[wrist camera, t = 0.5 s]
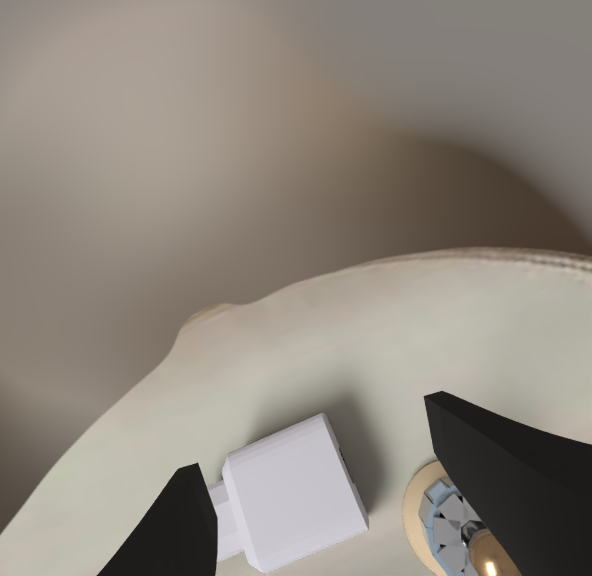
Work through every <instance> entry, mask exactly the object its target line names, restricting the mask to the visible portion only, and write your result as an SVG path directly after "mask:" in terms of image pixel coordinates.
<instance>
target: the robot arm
mask: <svg viewBox="0 0 592 576" xmlns="http://www.w3.org/2000/svg"><path fill="white" fill-rule="evenodd" d="M424 400H425V406H426V411H427V417H428V422H429V427H430V433H431V438H432V443H433V449H434V453H435V454H436V456H437V458H438V459H439V461H440V463H441V465H442V466H443V468H444V470H445V471H446V473H447V475H448V476H449V478H450V479H451V481H452V482H453V484H454V485H455V486H456V488H457V489H458V490H459V492H460V493H461V494H462V496H463V497H464V498H465V499H466V501H467V502H468V503H469V505H470V506H471V507H472V509H473V510H474V511H475V512H476V514H477V515H478V516H479V518H480V519H481V520H482V521H483V523H484V524H485V525H486V527H487V528H488V529H489V530H490V532H491V533H492V534H493V536H494V537H495V538H496V540H497V541H498V542H499V543H500V545H501V546H502V547H503V549H504V550H505V551H506V553H507V554H508V556H509V557H510V558H511V560H512V561H513V563H514V564H515V565H516V567H517V568H518V570H519V572H520V573H521V575H522V576H592V445H591V444H587V443H583V442H579V441H575V440H572V439H568V438H565V437H561V436H558V435H554V434H551V433H548V432H544V431H541V430H538V429H535V428H533V427H530V426H527V425H524V424H521V423H519V422H516V421H513V420H511V419H508V418H506V417H503V416H501V415H498V414H496V413H493V412H491V411H488V410H486V409H484V408H481V407H479V406H477V405H474V404H472V403H470V402H468V401H465V400H463V399H461V398H458V397H456V396H454V395H452V394H449V393H447V392H444V391H440V392H436V393H433V394H430V395H426V396H424ZM217 555H218V517H217V514H216V512H215V509H214V506H213V503H212V500H211V498H210V495H209V492H208V489H207V487H206V484H205V481H204V478H203V475H202V473H201V470H200V467H199V464H198V463H196V464H192V465H189V466H185V467H182V468H179V469H178V470H177V471H176V472H175V473H174V475H173V476H172V478H171V479H170V480H169V482H168V483H167V485H166V486H165V487H164V489H163V490H162V492H161V493H160V495H159V496H158V498H157V499H156V500H155V502H154V503H153V505H152V506H151V507H150V509H149V510H148V511H147V513H146V514H145V516H144V517H143V518H142V520H141V521H140V523H139V524H138V525H137V527H136V528H135V529H134V530H133V532H132V533H131V534H130V536H129V537H128V538H127V539H126V541H125V542H124V543H123V544H122V546H121V547H120V548H119V550H118V551H117V552H116V553H115V555H114V556H113V557H112V558H111V560H110V561H109V562H108V563H107V564H106V566H105V567H104V568H103V569H102V570H101V571H100V573H99V574H98V575H97V576H215V573H216V564H217Z"/></svg>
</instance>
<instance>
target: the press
mask: <svg viewBox="0 0 592 576" xmlns="http://www.w3.org/2000/svg"><path fill="white" fill-rule="evenodd" d="M461 498H462V502H461V501H460V500H459V499H461ZM442 514H443V515H444V517H445V518H443V517H441V516H442ZM469 520H475V521H481V522H483V521H482V520H481V519H480V518H479V516H478V515H477V514H476V512H475V511H474V510H473V509H472V507H471V506H470V505H469V503H468V502H467V501H466V499H465V498H464V497H463V496H462V494H461V493H460V492H459V490H458V489H457V488H456V486H455V485H454V484H453V482H452V481H451V479H450V478H449V476H448V475H447V473H446V471H445V470H444V468H443V466H442V465H441V463H440V461H439V460H438V461H435V462H432V463H430V464H428V465H426V466H424V467H423V468H422V469H421V470H419V471H418V472H417V473H416V474H415V476H414V477H413V478H412V480H411V481H410V483H409V485H408V487H407V489H406V492H405V496H404V500H403V521H404V526H405V530H406V534H407V536H408V539H409V541H410V544H411V545H412V547H413V549H414V551H415V552H416V554H417V555H418V557H419V558H420V559H421V560H422V562H423V563H424V564H425V565H426V566H427V567H428V568H429V569H430V570H431V571H433V572H434V573H436V574H437V575H438V576H479V575H478V574H477V572H476V571H475V569H474V568H473V566H472V564H471V562H470V559H469V555H468V549H467V548H466V547H465V545H464V544H463V543H462V542H461V527H462V526H463V525H464V524H465V523H466V522H468V521H469ZM483 524H484V523H483ZM484 525H485V524H484ZM485 526H486V525H485Z"/></svg>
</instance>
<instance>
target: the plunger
mask: <svg viewBox="0 0 592 576" xmlns="http://www.w3.org/2000/svg"><path fill="white" fill-rule="evenodd" d="M459 500H460V501H461V502H462V498H461V499H459ZM441 517H443V518H445V517H444V515H443V514H442V516H441ZM461 542H462V543H463V544H464V545H465V547H466V548H467V549H468V555H469V559H470V562H471V564H472V566H473V568H474V569H475V571H476V572H477V574H478V575H479V576H522V575H521V573H520V572H519V570H518V568H517V567H516V565H515V564H514V563H513V561H512V560H511V558H510V557H509V556H508V554H507V553H506V551H505V550H504V549H503V547H502V546H501V545H500V543H499V542H498V541H497V540H496V538H495V537H494V536H493V534H492V533H491V532H490V530H489V529H488V528H487V527H486V526H485V525H484V524H483V522H481V521H475V520H469V521H468V522H466V523H465V524H464V525H463V526H462V527H461Z"/></svg>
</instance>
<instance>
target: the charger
mask: <svg viewBox="0 0 592 576" xmlns="http://www.w3.org/2000/svg"><path fill="white" fill-rule="evenodd" d="M338 448H340V447H339V444H338V442H337V439H336V437H335V434H334V432H333V430H332V427H331V425H330V422H329V420H328V418H327V416H326V414H325V413H320V414H317V415H315V416H313V417H310V418H308V419H306V420H304V421H301V422H299V423H297V424H294V425H292V426H290V427H288V428H285V429H283V430H281V431H278V432H276V433H274V434H272V435H269V436H267V437H265V438H262V439H260V440H258V441H256V442H253V443H251V444H249V445H246V446H244V447H242V448H240V449H237V450H235V451H233V452H230V453H229V454H228V456H227V458H226V461H225V463H224V466H223V468H222V475H223V479H224V480H221V481H219V482H217V483H214V484H212V485H210V486H207V489H208V492H209V495H210V498H211V500H212V503H213V506H214V509H215V512H216V514H217V517H218V555H217V562H220V561H222V560H224V559H227V558H229V557H231V556H234V555H236V554H238V553H241V552H243V551H245V554H246V557H247V560H248V562H249V564H250V565H251V566H253V567H254V568H256V569H257V570H259V571H261V572H262V573H264V574H267V573H269V572H271V571H274V570H276V569H278V568H281V567H283V566H285V565H288V564H290V563H293V562H295V561H297V560H300V559H302V558H304V557H307V556H309V555H311V554H314V553H316V552H318V551H321V550H323V549H325V548H328V547H330V546H333V545H335V544H337V543H340V542H342V541H344V540H347V539H349V538H351V537H354V536H356V535H358V534H361V533H363V532H365V531H368V530H369V519H368V516H367V513H366V510H365V508H364V505H363V503H362V500H361V498H360V495H359V493H358V490H357V488H356V486H355V483H352V480H351V478H350V476H349V473H348V471H347V468H346V466H345V463H344V461H343V458H342V456H341V454H340V451H339V449H338ZM340 450H341V449H340ZM341 452H342V451H341ZM342 455H343V454H342ZM343 457H344V456H343ZM344 460H345V459H344ZM345 462H346V461H345ZM346 465H347V464H346ZM347 467H348V466H347ZM348 470H349V468H348ZM349 472H350V471H349ZM350 474H351V473H350ZM351 477H352V476H351ZM352 479H353V478H352ZM353 482H354V481H353Z"/></svg>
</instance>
